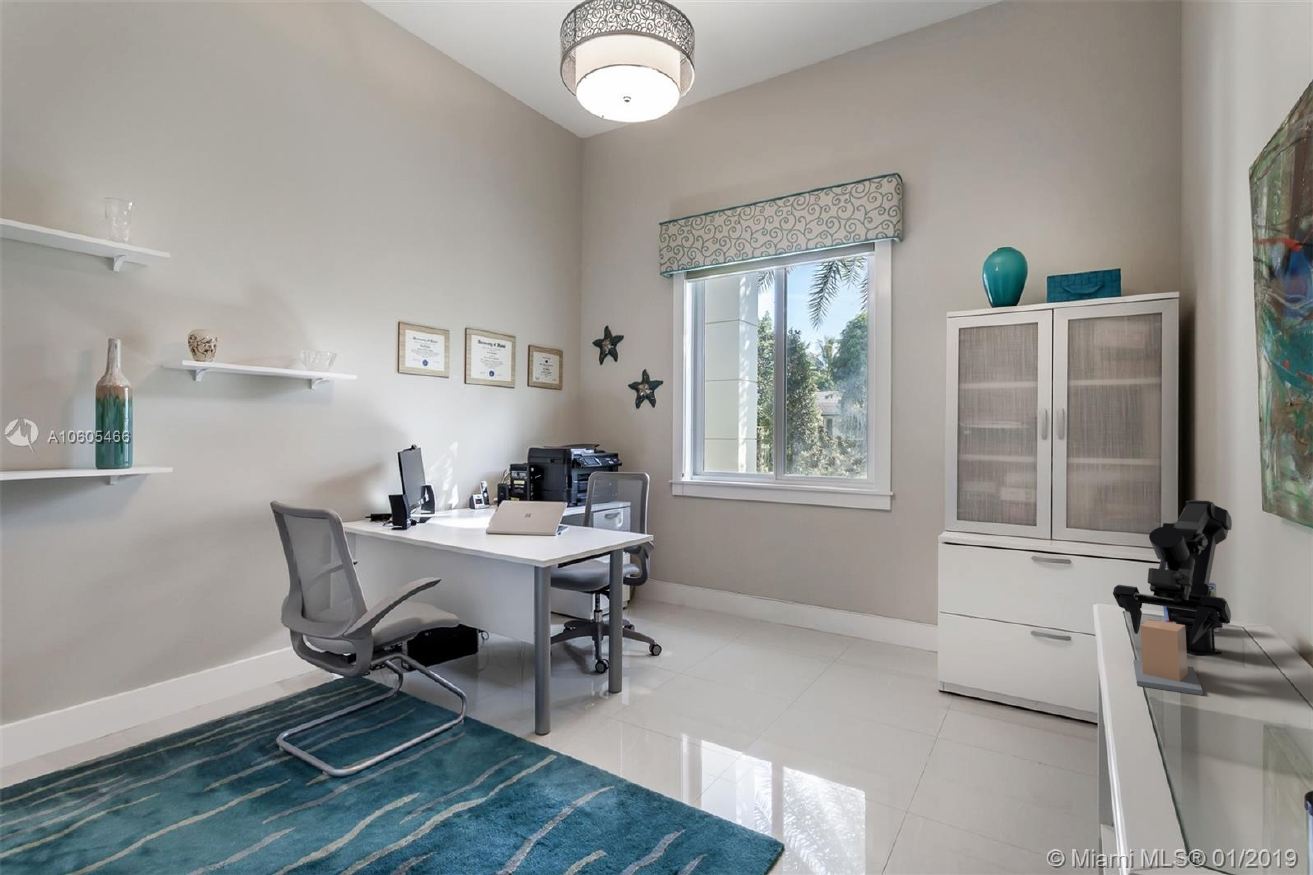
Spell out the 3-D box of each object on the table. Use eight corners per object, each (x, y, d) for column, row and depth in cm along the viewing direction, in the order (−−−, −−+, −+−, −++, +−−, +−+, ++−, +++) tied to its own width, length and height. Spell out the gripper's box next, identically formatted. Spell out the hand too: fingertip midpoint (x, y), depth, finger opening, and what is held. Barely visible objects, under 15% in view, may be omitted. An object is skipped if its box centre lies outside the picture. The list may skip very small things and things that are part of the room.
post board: (1133, 663, 136) (1132, 645, 136) (1193, 671, 131) (1192, 652, 131) (1137, 685, 125) (1136, 665, 125) (1202, 695, 119) (1201, 674, 119)
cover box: (1151, 666, 132) (1149, 619, 132) (1187, 673, 127) (1185, 625, 127) (1142, 673, 128) (1140, 625, 129) (1179, 681, 124) (1176, 631, 124)
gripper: (1113, 548, 138) (1098, 607, 132) (1224, 558, 124) (1214, 625, 117) (1126, 577, 143) (1113, 636, 136) (1235, 590, 128) (1226, 656, 122)
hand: (1162, 637), depth 128 cm, fingers open, 9 cm apart
